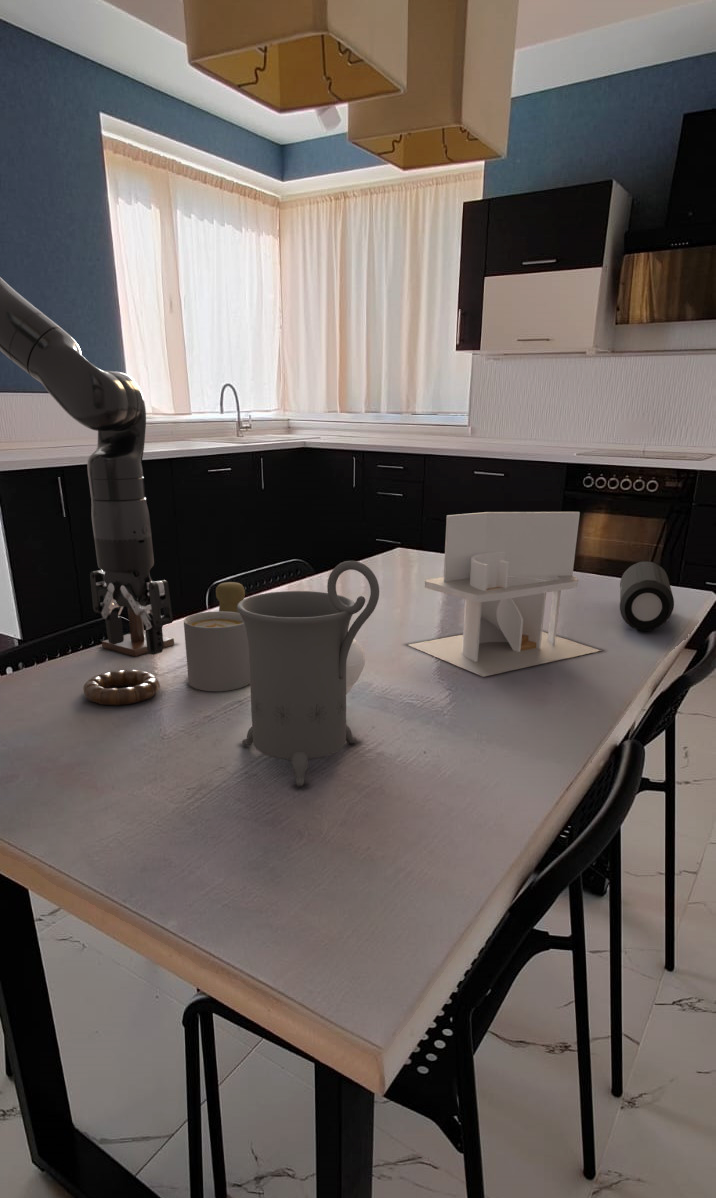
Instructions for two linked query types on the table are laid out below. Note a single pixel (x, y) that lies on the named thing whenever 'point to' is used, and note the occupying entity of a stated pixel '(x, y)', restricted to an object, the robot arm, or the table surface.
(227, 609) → the cork
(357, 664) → the spinning top
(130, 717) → the table surface
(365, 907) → the table surface
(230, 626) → the coffee mug
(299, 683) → the mug
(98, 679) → the ring
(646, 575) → the portable speaker
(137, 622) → the post
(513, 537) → the architectural model
